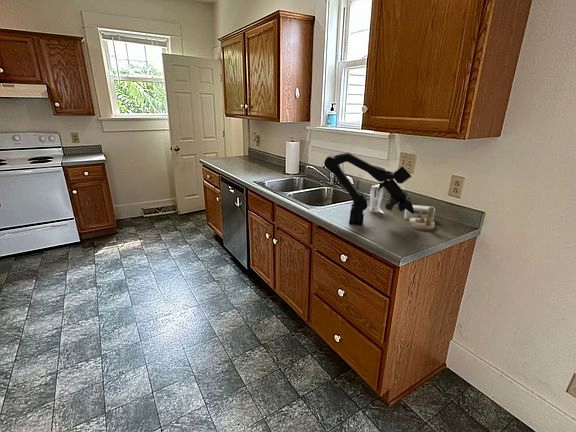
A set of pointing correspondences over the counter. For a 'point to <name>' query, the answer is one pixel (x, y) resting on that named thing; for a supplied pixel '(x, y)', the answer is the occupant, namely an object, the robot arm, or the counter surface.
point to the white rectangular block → (418, 212)
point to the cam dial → (423, 221)
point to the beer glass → (375, 198)
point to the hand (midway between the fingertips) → (413, 213)
